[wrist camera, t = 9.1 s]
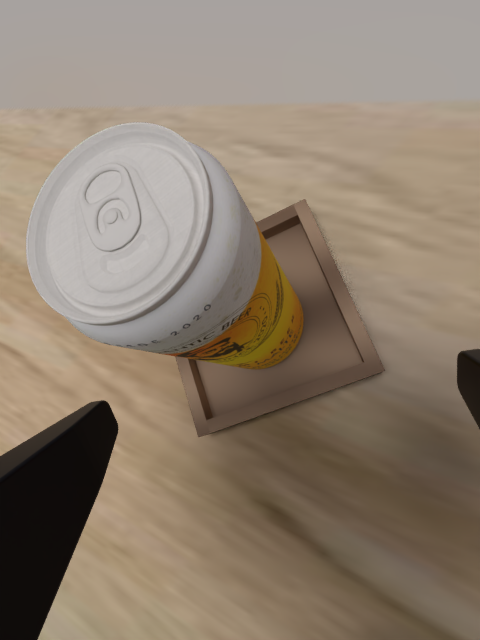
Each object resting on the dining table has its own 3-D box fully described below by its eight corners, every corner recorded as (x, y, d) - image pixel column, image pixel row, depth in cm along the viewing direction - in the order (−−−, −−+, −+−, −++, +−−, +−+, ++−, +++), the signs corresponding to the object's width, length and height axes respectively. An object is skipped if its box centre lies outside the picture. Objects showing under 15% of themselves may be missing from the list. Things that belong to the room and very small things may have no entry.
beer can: (233, 384, 22) (37, 381, 8) (203, 302, 24) (-2, 183, 10) (321, 347, 21) (267, 267, 7) (282, 263, 23) (176, 64, 9)
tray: (381, 372, 20) (385, 370, 19) (209, 433, 23) (198, 437, 21) (308, 212, 24) (305, 198, 22) (164, 281, 26) (151, 273, 24)
